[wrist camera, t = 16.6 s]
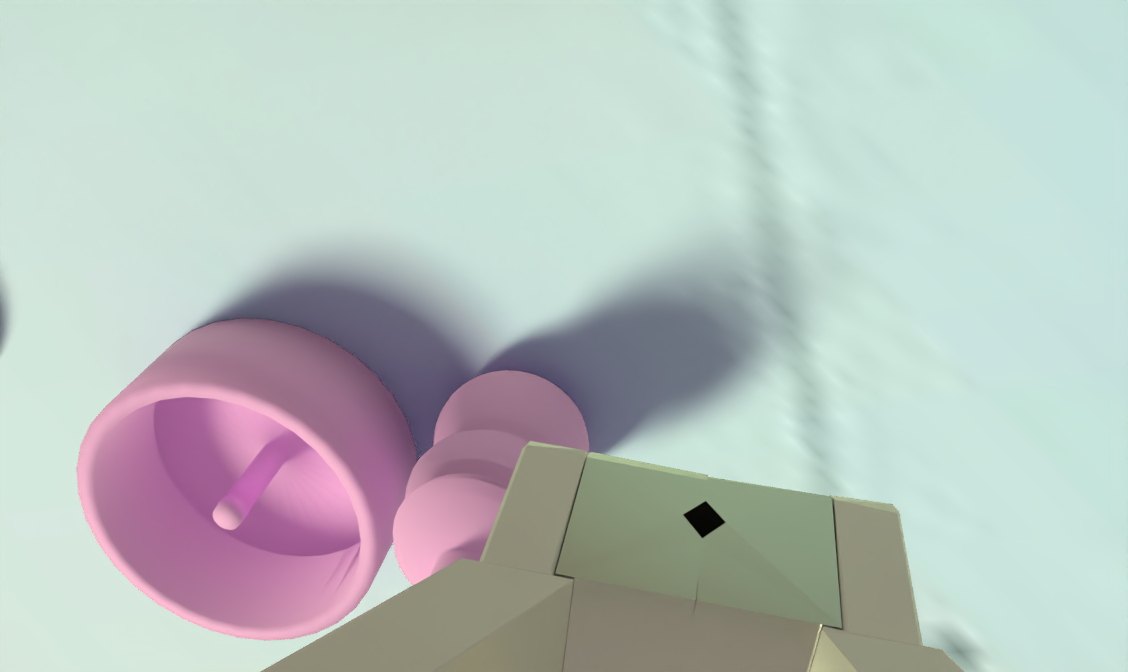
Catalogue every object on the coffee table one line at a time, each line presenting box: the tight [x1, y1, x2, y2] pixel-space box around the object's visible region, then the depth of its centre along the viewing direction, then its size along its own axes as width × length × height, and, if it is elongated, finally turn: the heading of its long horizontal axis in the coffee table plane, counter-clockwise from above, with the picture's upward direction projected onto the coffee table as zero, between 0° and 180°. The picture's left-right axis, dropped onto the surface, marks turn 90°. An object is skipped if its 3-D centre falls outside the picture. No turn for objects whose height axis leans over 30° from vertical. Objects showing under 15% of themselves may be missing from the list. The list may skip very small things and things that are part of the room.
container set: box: [77, 318, 589, 640], centre depth 50 cm, size 25×15×13 cm, turn 104°
